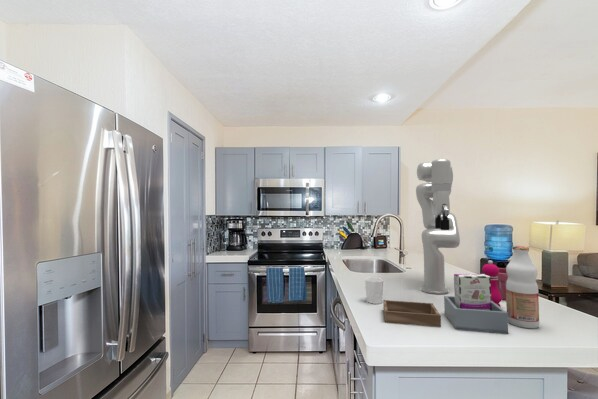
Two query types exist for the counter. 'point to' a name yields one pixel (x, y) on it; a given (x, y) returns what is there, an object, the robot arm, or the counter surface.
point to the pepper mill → (493, 281)
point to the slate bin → (476, 317)
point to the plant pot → (502, 282)
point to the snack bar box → (472, 291)
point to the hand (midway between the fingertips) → (441, 229)
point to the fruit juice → (522, 290)
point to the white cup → (374, 290)
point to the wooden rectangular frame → (411, 313)
